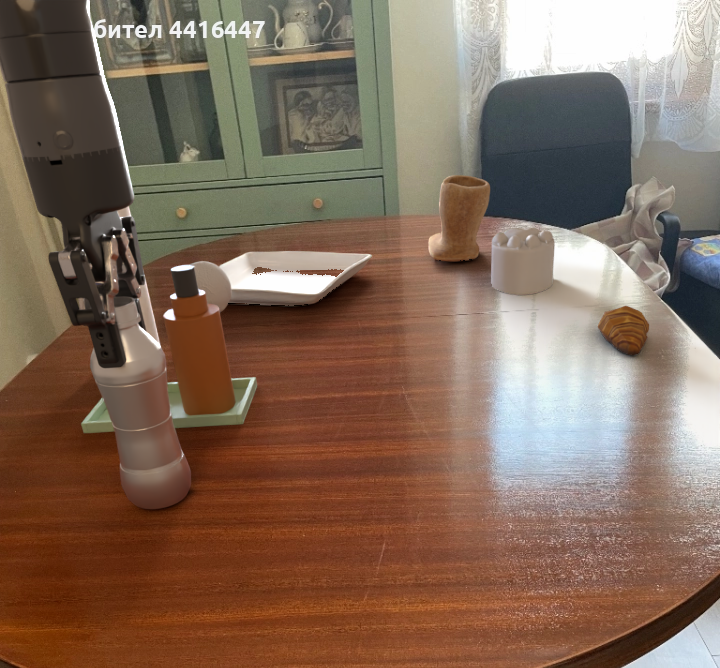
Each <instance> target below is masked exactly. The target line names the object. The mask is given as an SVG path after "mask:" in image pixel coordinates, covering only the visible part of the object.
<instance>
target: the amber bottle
mask: <svg viewBox="0 0 720 668" xmlns="http://www.w3.org/2000/svg"><path fill="white" fill-rule="evenodd" d="M170 274H171V278H172V283H173V287H174V293H173V294H171V295H170V296H169V299H170V303H171V309H168V310H167V311H165V312H164V313H163V315H162V317H163V321H164V326H165V331H166V336H167V339H168V340H167V341H168V344H169V349H170V353H171V358H172V362H173V367H174V372H175V376H176V382H178V386H179V390H180V395H181V399H182V404H183V408H184V412H185V413H186V414H188V415H206V414H222V413H224V412H226V411H228V410H230V409H231V408H233V407H234V405H235V403H236V401H235V395H234V390H233V384H232V379H233V378H232V373H231V368H230V363H229V356H228V352H227V345H226V340H225V334H224V327H223V323H222V317H221V312H219V307H218V306H216V305H214V304H208V303H207V299H206V293H205V291H203V290H198V285H197V279H196V274H195V269H194V266H192V265H190V264H182V265H178V266H177V265H176V266H174V267H172V268H170Z"/></svg>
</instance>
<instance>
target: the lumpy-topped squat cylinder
mask: <svg viewBox="0 0 720 668" xmlns="http://www.w3.org/2000/svg"><path fill="white" fill-rule="evenodd" d="M555 243H556V242H555V238H554V236H553V233H552V232H551V231H550V230H547V229H545V230H542V231H541V230H540V229H538V228H537V227H523V228H520V227H514V228H508V229H506V230H505V231H503V232H497V233H496V234H495V235H494V236H493V237H492V239H491V259H490V260H491V263H490V265H491V267H490V269H491V270H490V276H491V277H490V285H491V284H492V286H491V288H492V287H494V288H495V289H494V288H493V289H494V290H496V289H498V290H499V291H498V290H497V291H498V292H500V291H502V292H501V293H503V292H504V294H509V295H517V296H525V295H534V294H537V293H541V292H544V291H546V290H549V288H551V287H552V286H553V283H554V282H553V280H554V261H555V248H556V247H555V246H556V244H555Z"/></svg>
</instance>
